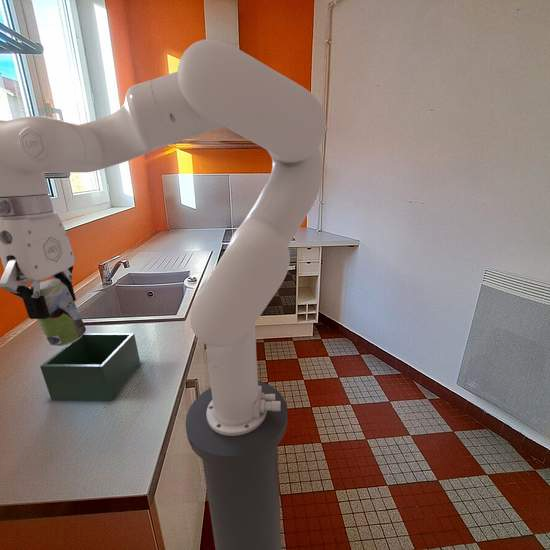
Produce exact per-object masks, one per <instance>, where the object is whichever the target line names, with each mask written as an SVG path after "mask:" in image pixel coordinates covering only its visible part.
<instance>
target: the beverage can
mask: <svg viewBox="0 0 550 550" xmlns="http://www.w3.org/2000/svg"><path fill="white" fill-rule="evenodd" d="M27 287H28V288H30V289H31V285H30V286H27ZM40 296H44V298H45V301H46V305H47V308H48V311H49V315H50V316H49V317H48V318H47V319H36V320H37V323H38V325H39V326H40V328H41V330H42V332H43V334H44V336H45V338H46V339H47V341H48V343H49V345H51V346H58V347H65V346H67V345H68V344H71V343H73V342H75V341H77V340H78V339H80V338H81V337H82V335H83V334H84V333H86V331H87V327H86V325H85V324H84V321H83V318H82V317H81V314H80V312H79V310H78V308H77V305H76V303H75V301H73V298H72V296H71V294H70V292H69V289H68V287H67V285H66V284H64V283H63V282H61V281H60V279H54V278H50V279H49V278H48V279H44V280H41V281H40Z"/></svg>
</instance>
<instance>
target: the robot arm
mask: <svg viewBox="0 0 550 550" xmlns="http://www.w3.org/2000/svg"><path fill="white" fill-rule="evenodd" d="M124 98H125V99H124V103H123V104H122V105H121V107H120V109H118V110H117V111H115V112H113V113H111V114H109V115H107V116H104V117H102V118H98V119H96V120H95V119H94V120H92V121H88V122H86V123H80V124H77V123H73V122H69V121H65V120H62V119H57V118H52V117H49V116H43V115H29V116H23V117H19V118H14V119H10V120H0V260H1V263H2V266H3V273H2V275H1V277H0V288H1V289H3V290H5V291H7V292H9V293H11V294H13V295H15V296H17V298H18V299H22V301H23V303H24V307H25V310H26V313H27V317H28V318H29V319H30V320H37V319H47V318H48V317H49V316H50V315H49V311H48V308H47V305H46V301H45V298H44V296H40V282H41V281H45V280H47V279H49V278H50V277H52V279H60V281H61V282H63V283H64V284H66V285H67V287H68V289H69V292H70V294H71V296H72V298H73V301H74V302H76V301H77V298H76V294H75V291H74V288H73V287H74V286H73V283H72V281H73V279H74V277H73V274H72V273H73V270H74V265H75V263H76V262H75V261H76V256H75V255H74V252H73V248H72V246H71V242H70V239H69V236H68V234H67V231H66V228H65V226H64V224H63V222H62V220H61V217H60V216H59V214H58V213H57V212H55V210H54V206H53V202H52V198H51V195H50V191H49V188H48V184H47V183H48V182H47V179H46V176H45V173H50V174H67V173H92V172H97V171H100V170H104V169H107V168H110V167H113V166H117V165H119V164H123V163H126V162H129V161H132V160H134V159H136V158H139V157H141V156H143V155H146V154H150V153H153V151H156V150H157V149H160V148H163V147H167V146H169V145H173V144H175V143H179V142H182V141H185V140H188V139H192V138H195V137H198V136H201V135H204V134H208V133H211V132H214V131H219V130H221V129H224V128H226V129H228V130H230V131H232V132H233V133H235V134H237V135H239V136H240V137H242V138H244V139H246V140H248V141H250V142H252V143H253V144H255V145H257V146H259V147H261V148H263V149H265V150H266V151H267V153H268V154H269V157H271V161H272V162H271V163H272V167H271V171H270V175H269V178H268V179H267V181H266V183H265V185H264V187H263V188H262V190H261V192H260V193H259V196H258V197H257V200H256V201H255V203H254V204H253V206H252V207H251V209H250V210H249V212H248V214H247V215H246V217H245V218H244V220H243V221H242V223H241V224H240V225H239V226H238V227H237V229H236V230H235V231H234V233H233V234H232V236H231V238H230V240H229V243H228V244H227V247H226V249H225V250H224V252H223V253H222V255H221V257H220V259H219V261H218V262H217V264H216V265H215V267H214V269H213V270H212V271H211V272H210V273H209V274H208V275H207V276H206V277H205V279H204V280H203V281H202V284H201V286H200V287H199V289H198V292H197V294H196V296H195V298H194V300H193V302H192V305H191V308H190V312H189V322H190V327H191V329H192V332H193V334H194V335H195V337H196V338H197V339H198V340H199V341H200V342H201V343H203V344H205V348H206V358H207V366H208V375H209V381H210V388H211V391H212V399H213V400H212V401H211V402H210V404H209V405H208V408H207V413H206V416H207V421H208V424H209V426H210V427H211V428H212V429H213V430H214V431H215V432H217V433H219V434H222V435H226V436H239V435H243V434H246V433H249V432H251V431H253V430H254V429H256V428H257V427H258V426H260V424H261V423H262V422H263V421H264V419H265V417H266V414H267V411H280V409H281V402H280V401H275V394H264V393H262V390H261V386H258V381H259V376H258V375H259V374H258V360H257V359H258V358H257V357H258V356H257V336H256V323H257V321H258V320H259V318H260V316H261V315H262V314H263V312H264V311H265V310H266V308H267V306H268V305H269V304H270V302H271V301H272V299H273V298H274V297H275V295H276V294H277V292H278V291H279V289H280V287H281V286H282V284H283V282H284V280H285V278H286V276H287V274H288V271H289V268H290V263H291V254H290V253H291V252H290V248H289V246H290V244H291V242H292V241H293V239H294V237H295V236H296V234H297V233H298V232H299V230H300V228H301V227H302V225H303V223H304V221H305V219H306V217H307V216H308V214H309V213H310V211H311V209H312V208H313V206H314V204H315V202H316V200H317V198H318V195H319V192H320V189H321V185H322V179H323V160H322V153H321V149H320V147H321V146H322V143H323V141H324V139H325V137H326V132H327V117H326V113H325V112H326V111H325V110H324V107H323V105H322V104H321V102H320V100H319V99H318V98H317V97H316V96H315V95H314V94H313V93H312V92H311V91H309V90H308V89H307V88H306V87H304V86H303V85H301V84H299V83H298V82H295V81H294V80H292V79H291V78H289V77H287V76H285V75H284V74H282V73H280V72H278V71H276V70H275V69H273V68H271V67H270V66H268V65H266V64H265V63H263V62H261V61H260V60H258V59H256V58H255V57H253V56H252V55H250V54H248V53H246V52H245V51H243V50H241V49H239V48H237V47H236V46H234V45H231V44H230V43H228V42H225V41H222V40H219V39H212V38H206V39H200V40H198V41H195V42H193V43H192V44H191V45H189V47H187V48H186V49H185V50H184V52H183V53H182V55H181V57H180V60H179V62H178V66H177V71H175V72H172V73H169V74H166V75H162V76H160V77H159V76H158V77H156V78H153V79H149V80H145V81H143V82H140V83H136V84H134V85H131V86H130V87H129V88H128V89H127V90H126V92H125V97H124ZM28 283H30V286H31V289H30V288H28V287H29V286H28ZM265 400H269V401H272V402H268V401H265Z"/></svg>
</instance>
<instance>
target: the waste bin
mask: <svg viewBox="0 0 550 550" xmlns="http://www.w3.org/2000/svg"><path fill="white" fill-rule="evenodd" d="M140 364H141V360H140V355H139V349H138V345H137V340H136V336H135V333H133V332H131V333H129V332H127V333H126V332H125V333H123V332H120V333H119V332H117V333H116V332H113V333H112V332H111V333H110V332H109V333H107V332H105V333H104V332H103V333H101V332H100V333H98V332H97V333H93V332H92V333H91V332H90V333H88V332H87V333H86V332H85V333H84V334H83V335H82V337H81V338H80V339H78V340H77V341H75V342H73V343H71V344H68V345H64V346H63V348H61V349H60V350H59V351H57V352H56V353H55V354H53V355H52V356H51V357H50V358H49V359H48V360H46V361H45V362H43V363H42V364H41V365H40V366H39V367H40V371H41V374H42V376H43V379H44V382H45V386H46V389H47V391H48V394H49V398H50V400H51V401H82V402H83V401H94V402H111V401H112V400H113V399H114V398H115V396H116V395H117V394H118V393H119V392H120V390H121V389H122V387H123V386H124V385H125V384H126V382H127V381H128V380H129V378H130V377H131V376H132V375H133V374H134V372H135V371H136V370H137V368H138V367H139V366H140Z"/></svg>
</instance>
